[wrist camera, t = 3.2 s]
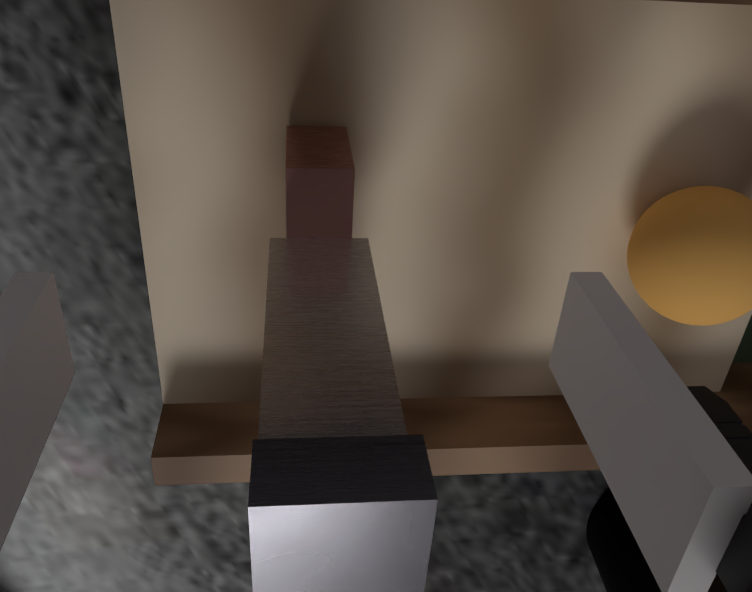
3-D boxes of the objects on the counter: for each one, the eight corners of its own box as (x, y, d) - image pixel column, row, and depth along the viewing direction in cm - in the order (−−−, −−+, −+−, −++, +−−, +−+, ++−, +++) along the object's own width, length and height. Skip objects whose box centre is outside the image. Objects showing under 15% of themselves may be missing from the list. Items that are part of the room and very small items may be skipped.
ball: (593, 280, 23) (646, 354, 19) (623, 163, 21) (688, 223, 17) (709, 280, 23) (780, 352, 20) (750, 165, 21) (838, 224, 18)
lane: (175, 392, 26) (152, 497, 22) (115, -105, 17) (58, -93, 13) (866, 379, 29) (962, 467, 25) (1097, -47, 21) (1304, -21, 16)
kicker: (275, 313, 22) (260, 725, 11) (271, 125, 19) (244, 460, 8) (352, 313, 22) (405, 714, 12) (361, 127, 19) (444, 454, 9)
